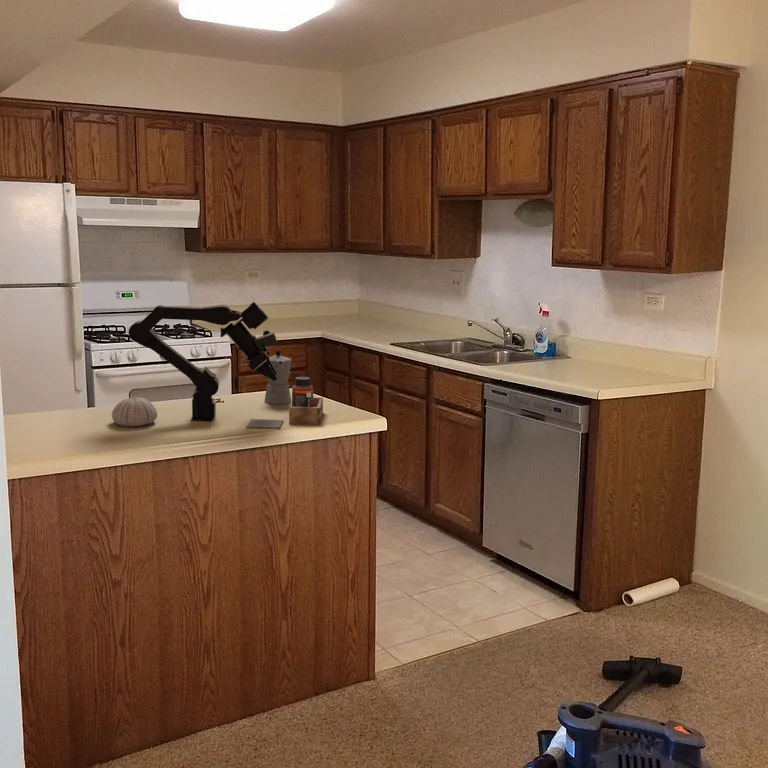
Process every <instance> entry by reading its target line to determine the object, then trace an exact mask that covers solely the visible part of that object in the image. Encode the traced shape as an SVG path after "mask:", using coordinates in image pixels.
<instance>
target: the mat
mask: <svg viewBox="0 0 768 768" xmlns="http://www.w3.org/2000/svg"><path fill="white" fill-rule="evenodd" d="M283 423H284V419H261V418H260V419H256V418H251V419H250V421H249V422H248V424H247V425H246V427H245V428H246V429H266V428H280V427H282V425H283ZM280 429H281V428H280Z"/></svg>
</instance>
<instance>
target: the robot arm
mask: <svg viewBox="0 0 768 768" xmlns="http://www.w3.org/2000/svg"><path fill="white" fill-rule="evenodd" d="M268 319H269V317H268V315H267V314H266V312H265V311H264V310H263V309H262V308H261V307H260V306H259V305H258V304H257V303H256V302H255V301H252V302H251V303H250V304H249V305H248V306H247V307H246V308H245V309H244V310H243V311H239V310H233V309H231V308H230V307H229V306H228V305H227V304H217V305H210V306H209V305H208V306H204V307H198V306H197V307H196V306H195V307H192V306H191V307H190V306H174V305H173V306H169V305H168V306H167V305H163V304H161V305H157V306H155V308H154V309H153V310H152V311H151V312H150V313H149V314H148V315H147V316H146V317H145V318H143V319H142V320H137V321H135V322H134V323H133V324H132V325H131V326H130V327H129V328H128V337H129V338H130V340H132V341H133V342H135V343H137V344H138V345H140V346H142V347H144V348H147V349H149V350H151V351H153V352H155V353H156V354H157V355H158V356H160V358H163V359H164V360H165V362H168V363H169V364H171V365H172V366H173V367H174V368H176V369H177V370H178V371H179V372H180V373H182V374H183V375H185V376H186V377H187V378H188V379H189V380H190V381H191V383H192V384H193V385H194V386H195V389H194V390H193V393H192V399H191V412H192V414H191V418H190V420H191V421H213V420H214V418H216V416H217V403H216V402H215V397H213V396H215V394H217V393H218V391H219V387H220V380H219V379H218V377H217V374H216V373H214V372H212V371H211V370H210V368H208V367H207V366H205V367H204V369H202V368H199V367H198V366H197V365H195V364H193V363H192V362H191V361H190V360H188V359H187V358H186V357H184V356H183V355H182V354H180V352H178V351H177V350H175V349H174V348H173V347H171V346H170V345H169V344H168V343H166V342H165V341H164V340H162V339H161V338H160V336H159V335H158V334H157V331H155V330H154V327H155V326H156V325H158V323H159V322H160V321H162V320H181V321H182V320H184V321H202V322H207V323H209V324H214V325H219V326H225V325H226V326H225V327H220V338H223V337H224V336H226V335H227V336H228V337H229V338H230V340H231V341H232V342H233V344H235V346H237V349H238V350H239V352H242V354H243V355H244V356H245V357H246V360H247V361H248V367H249V368H250V370H252V371H253V372H255V373H258V374H260V375H262V376H264V377H266V378H267V377H268V378H270V379H272V380H273V381H276V380H277V377H276V376H275V375H276V374H277V373H276V371H275V369H274V367H273V366H272V364H271V362H270V360H269V357H270V351H269V349H268V346H271V345H276V344H278V339H277V337H276V334H275V332H274V331H272V332H270V331H269V330H268V329H267V330H263V332H262V333H263V334H262V335H260V336H258V337H257V336H256V335H255V334H252V333H251V332H250V331H249V330H252V329H253V330H256V329H258V328H259V327H260V326H261V325H262V324H264V323H265V322H266V321H267V320H268ZM233 322H235V323H233ZM242 322H243V323H244V324H243V323H242ZM246 327H247V328H248V329H247V328H246ZM268 378H267V379H268Z"/></svg>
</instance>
